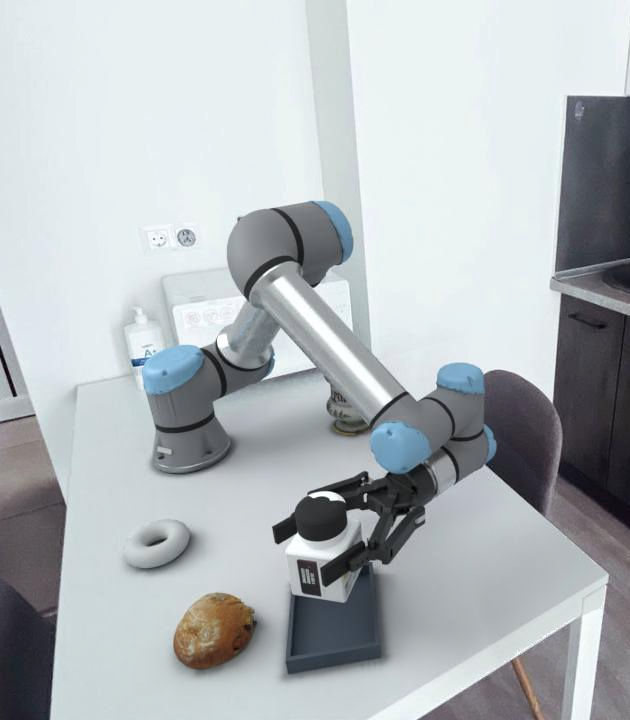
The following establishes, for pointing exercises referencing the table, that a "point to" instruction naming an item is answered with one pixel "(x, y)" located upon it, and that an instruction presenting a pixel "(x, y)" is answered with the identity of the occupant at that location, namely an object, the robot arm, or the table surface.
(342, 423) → the apothecary jar
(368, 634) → the tray
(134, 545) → the donut
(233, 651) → the bread roll
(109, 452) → the table surface
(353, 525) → the container
